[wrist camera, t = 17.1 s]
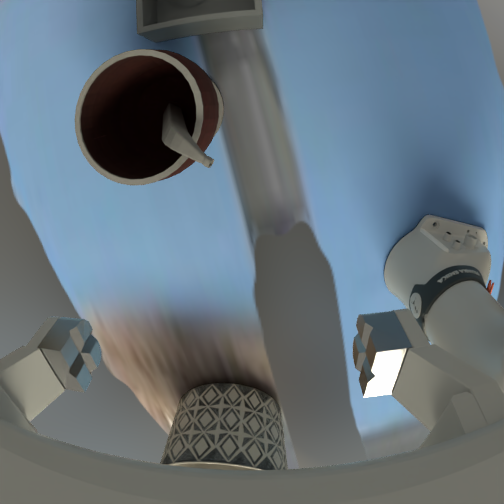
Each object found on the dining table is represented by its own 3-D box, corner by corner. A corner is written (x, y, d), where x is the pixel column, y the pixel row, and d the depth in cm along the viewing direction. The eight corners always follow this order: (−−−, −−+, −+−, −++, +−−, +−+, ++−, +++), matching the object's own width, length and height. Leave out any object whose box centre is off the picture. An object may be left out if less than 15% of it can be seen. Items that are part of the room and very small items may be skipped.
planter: (190, 429, 74) (177, 498, 54) (163, 369, 62) (137, 454, 43) (286, 429, 72) (288, 502, 53) (285, 367, 61) (290, 462, 41)
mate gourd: (120, 134, 41) (37, 162, 23) (161, 50, 35) (91, 20, 17) (210, 179, 44) (174, 236, 26) (258, 95, 38) (256, 87, 21)
